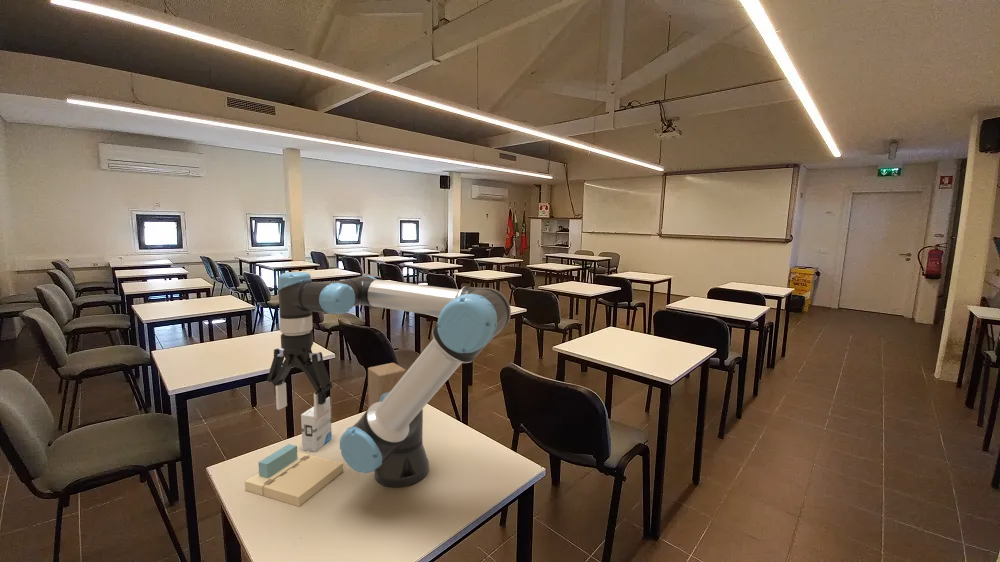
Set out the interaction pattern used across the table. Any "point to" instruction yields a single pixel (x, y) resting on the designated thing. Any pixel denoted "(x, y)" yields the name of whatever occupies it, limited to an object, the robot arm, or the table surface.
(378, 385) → the wooden block
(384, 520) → the table surface
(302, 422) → the ink box
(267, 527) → the table surface
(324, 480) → the beige flat slab
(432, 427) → the table surface
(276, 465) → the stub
